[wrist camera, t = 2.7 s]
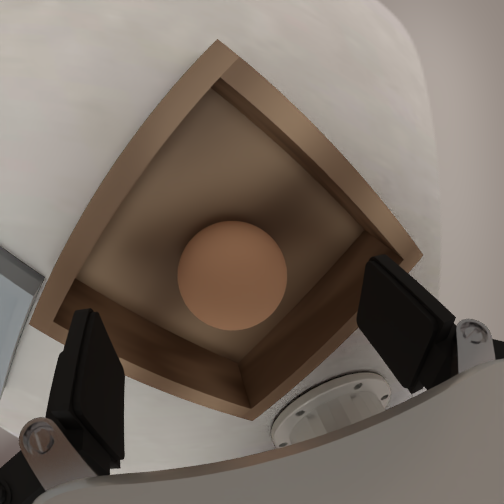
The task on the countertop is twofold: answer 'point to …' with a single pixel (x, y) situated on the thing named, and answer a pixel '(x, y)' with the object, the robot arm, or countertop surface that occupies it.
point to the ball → (232, 275)
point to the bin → (213, 211)
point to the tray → (14, 306)
